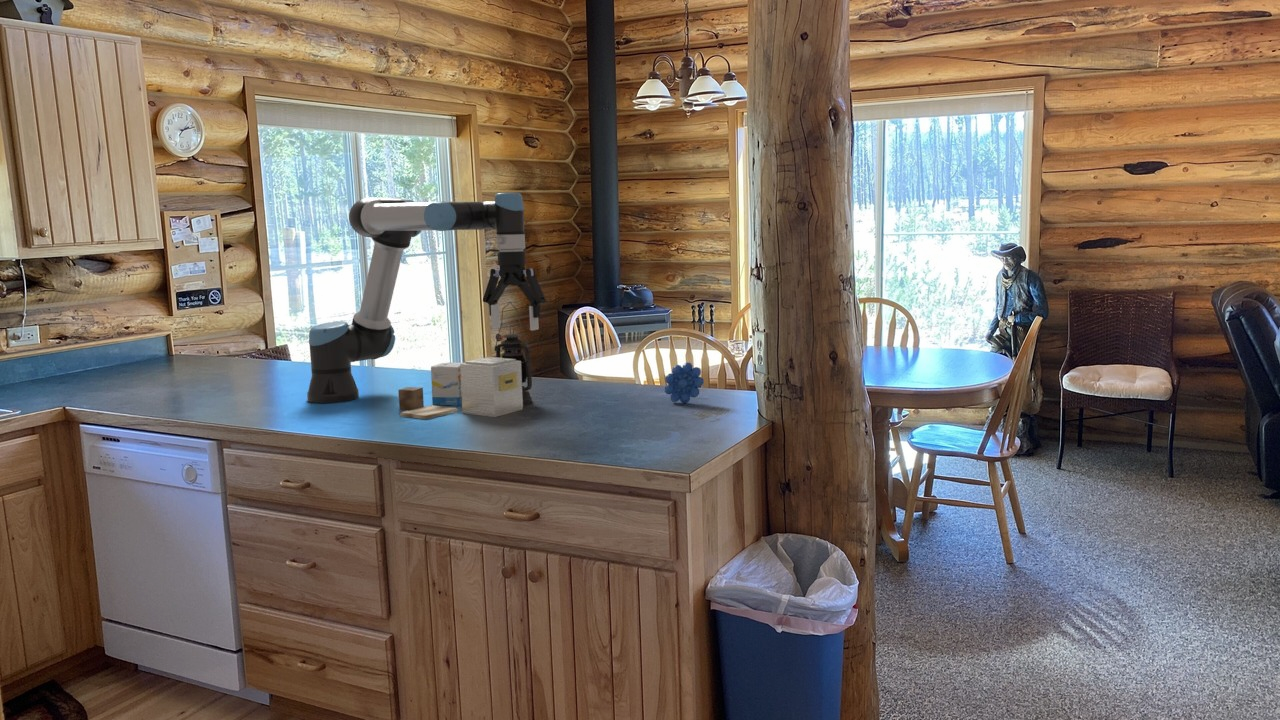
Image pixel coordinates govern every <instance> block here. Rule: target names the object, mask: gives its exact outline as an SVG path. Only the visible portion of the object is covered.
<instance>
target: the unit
mask: <svg viewBox="0 0 1280 720" xmlns="http://www.w3.org/2000/svg"><path fill="white" fill-rule="evenodd" d="M462 363H463V364H460V372H461V392H462V404H461V408H462V409H461V410H462V414H467V415H472V416H473V415H474V416H483V417H490V418H497V417H501V416H504V415H508V414H511V413H515V412H519V411H522V410H524V405H523V397H522V386H523V384H522V372H521V361H516V359H509V358H502V357H500V358H497V357H496V356H495V357H493V356H486V357H483V358H482V357H481V358H476V359H472V360H467V361H465V362H462Z"/></svg>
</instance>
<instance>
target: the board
mask: <svg viewBox="0 0 1280 720" xmlns="http://www.w3.org/2000/svg"><path fill="white" fill-rule="evenodd" d="M457 412H458V408H457V407H452V406H445V405H433V404H430V405H426V406H424V407H421V408H417V409H413V410H409V411H405V410H404V411H401V412H400V416H401V417H405V418H406V417H407V418H414V419H421V420H428V419H434V418H438V417H443V416H445V415H450V414H453V413H457Z"/></svg>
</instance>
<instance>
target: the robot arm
mask: <svg viewBox="0 0 1280 720" xmlns="http://www.w3.org/2000/svg"><path fill="white" fill-rule="evenodd" d="M524 211H525V207H524V200H523V196H522V194H521V193H520V192H499V193H495V195H494V200H492V201H491V200H490V201H478V200H477V201H444V200H442V201H441V200H439V201H428V202H427V201H426V202H416V201H414V200H413V199H410V198H405V197H404V198H403V197H400V196H397V197H365V198H362V199H359V200H358V201H356V202H355V203H354V204H353V205H352V206H351V208H350V210H349V214H348V221H349V224H350V226H351V228H352V229H353V231H354V232H355V233H356V234H358V235H360V236H363V237H365V238H370V239H371V240H372V242H374V245H373V248H372V255H371V259H370V263H369V267H368V273H367V277H366V281H365V286H364V291H363V295H362V300H361V303H360V309H359V311H357V312H355V313H353V317H352V321H351V324H349V323H348V322H347V321H344V320H342V321H341V320H340V321H332V322H331V321H330V322H324V323H320V324H317V325H314V326H313V327H311V328H310V329H309V331H308V333H309V335H308V343H309V355H310V356H309V357H310V368H311V369H310V370H311V376H310V377H311V378H310V381H309V385H308V391H307V393H306V394H307V396H306V399H307V401H308V402H309V403H312V404H313V403H315V404H333V403H342V402H348V401H353V400H355V399H356V400H357V399H358V398H359V397H360V395H359V393H360V392H359V389H358V387H357V384H356V381H355V379H354V377H353V373H352V367H351V366H352V363H355V362H361V361H366V360H377V359H380V358H384V357H386V356H387V355H389V354H390V353H391V352H392V350H393V349H394V346H395V342H396V335H394V333H395V329H394V327H393V325H392V322H391V320H390V319H389V318H388V316H389V312H390V309H391V308H390V307H391V302H392V299H393V296H394V290H395V286H396V282H397V277H398V275H399V269H400V265H401V260H402V257H403V252H404V250H407V249H408V248H410V246H411V245H410V244H411V241H412V238H415V237H417V236H418V235H420V233H421V232H422V231H438V232H445V231H469V230H471V231H473V230H474V231H482V230H496V245H497V250H498V252H497V264H498V266H499V268H491V269H490V271H489V279H488V282H487V285H486V288H485V290H484V294H483V298H482V302H483V303H487V304H488V310H489V313H488V314H489V316H490V318H491V319H490V320H491V329H493V330H495V329H500V326H501V314H500V313H501V310H500V303H499V300H500V298H501V296H503V293H504V292H505V290H506V288H508V286H517V287H518V288H520V290H521V292H522V293H523V294H524V296H525V297H526V299H527V300H528V301H529V303H530V305H529V306H528V311H529V313H528V314H529V330H530V331H537V330H539V329H540V327H539V325H540V324H539V318H540V317H541V307H540V306H541V305H542V304H545V303H546V301H547V300H546V297H545V295H544V293H543V290H542V289H541V286H540V283H539V281H538V278H537V276H536V269H535V268H525V266H526V264H527V260H526V259H527V258H526V254H527V253H526V251H524V250H525V249H526V237H525V236H526V235H525V233H526V232H525V212H524Z"/></svg>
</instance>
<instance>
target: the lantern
mask: <svg viewBox="0 0 1280 720" xmlns="http://www.w3.org/2000/svg"><path fill="white" fill-rule="evenodd" d="M509 305H511V306H512V308H514V309H515V310H516V314H517V318H518V322H519V326H520V329H521V332H522V334H523V337H524V340H520V339H518V338H521V337H522V335H521V334H518V333H515V329H514V327H515V326H514V325H510V326H509V333H507V334H505V335H502V338H506V340H502V341H500V343H499V344H498V341H499V336H500V331H501V329H502V326H503V318H504V317H503V315H504V309H505V308H507V307H508V306H509ZM518 312H519V311H518V309H517V307H516V306H515V305H513V303H512V301H509V302H508V303H507V304H506V305H504V307H502V309H501V319H500V328H498V329H499V330H498V333H497V338H496V341H495V346H494V351H495V357H497V358H509V359H516V361H521V372H522V397H523V406H527V405H530V404H532V403H533V398H532V396H531V394H530V391H529V390H531V389H532V386H533V380H532V379H533V378H532V377H533V376H532V367H531V356H530V353H531V352H532V348H531V347H530V346H529V345H528V342H527V339H526V336H525V332H524V330H523V328H522V324H521V320H520V316H519V313H518ZM511 327H512V328H511ZM524 342H525V344H524ZM501 350H503V353H502V354H501ZM522 350H524V351H525V356H524V353H523V352H522ZM501 355H502V356H501ZM524 383H526V384H527V385H526V387H525V386H524V385H523V384H524Z"/></svg>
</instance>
